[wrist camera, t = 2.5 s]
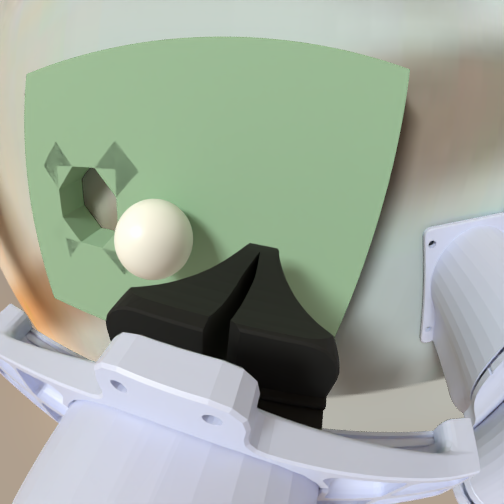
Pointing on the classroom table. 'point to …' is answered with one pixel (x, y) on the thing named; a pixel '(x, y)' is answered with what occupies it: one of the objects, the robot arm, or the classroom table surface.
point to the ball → (153, 239)
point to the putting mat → (215, 159)
